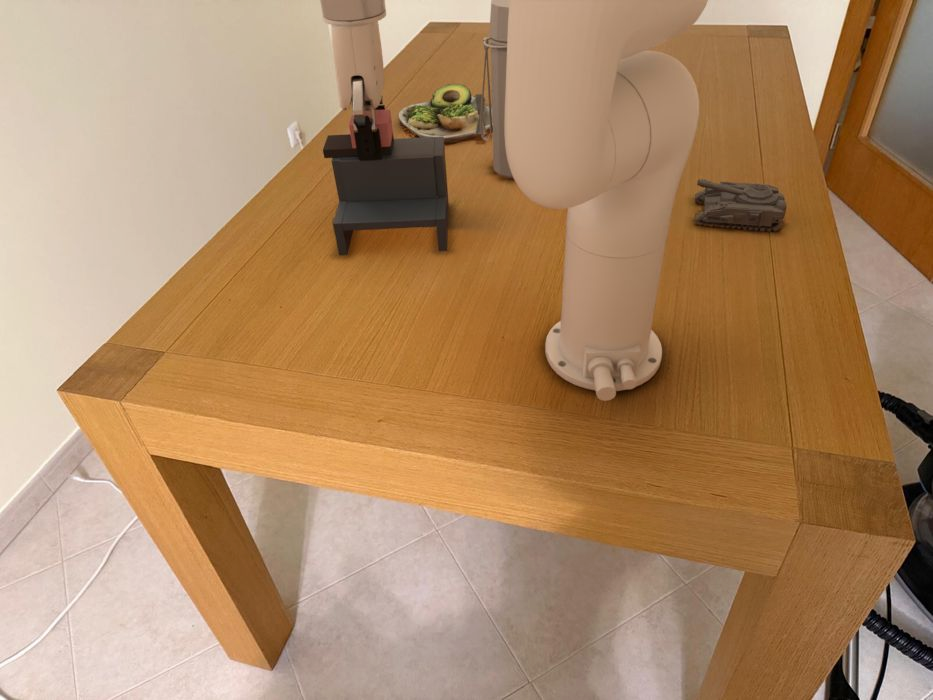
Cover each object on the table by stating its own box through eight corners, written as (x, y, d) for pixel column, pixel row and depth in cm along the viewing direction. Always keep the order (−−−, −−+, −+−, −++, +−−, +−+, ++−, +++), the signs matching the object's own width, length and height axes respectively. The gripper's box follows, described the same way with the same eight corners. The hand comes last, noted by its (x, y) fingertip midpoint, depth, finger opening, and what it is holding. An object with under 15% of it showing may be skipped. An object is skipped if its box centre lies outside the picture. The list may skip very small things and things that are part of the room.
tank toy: (691, 229, 94) (698, 195, 90) (691, 196, 100) (697, 163, 97) (785, 237, 91) (795, 202, 88) (778, 202, 98) (787, 168, 95)
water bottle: (542, 161, 111) (546, -7, 95) (532, 184, 106) (535, 9, 89) (487, 157, 113) (482, -8, 97) (475, 179, 108) (468, 8, 91)
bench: (447, 251, 92) (441, 176, 85) (339, 255, 93) (324, 181, 86) (448, 206, 101) (443, 136, 94) (350, 211, 102) (337, 141, 95)
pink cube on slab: (324, 158, 91) (318, 126, 88) (329, 143, 94) (323, 112, 91) (391, 155, 90) (387, 123, 88) (394, 140, 94) (390, 109, 91)
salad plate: (524, 133, 120) (524, 107, 117) (431, 157, 114) (429, 131, 111) (474, 98, 133) (473, 74, 130) (389, 118, 127) (386, 93, 124)
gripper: (332, -14, 87) (354, 122, 99) (308, 27, 74) (337, 178, 86) (390, -17, 87) (405, 119, 98) (377, 24, 74) (396, 175, 85)
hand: (373, 145), depth 92 cm, fingers open, 7 cm apart
